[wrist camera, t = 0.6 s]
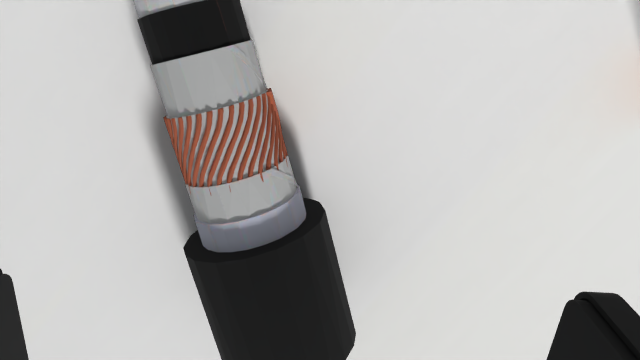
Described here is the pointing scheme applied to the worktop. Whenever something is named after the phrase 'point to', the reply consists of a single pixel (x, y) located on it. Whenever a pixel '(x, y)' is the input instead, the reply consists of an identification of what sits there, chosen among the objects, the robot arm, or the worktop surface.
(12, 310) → the robot arm
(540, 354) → the worktop surface
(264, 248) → the cable
